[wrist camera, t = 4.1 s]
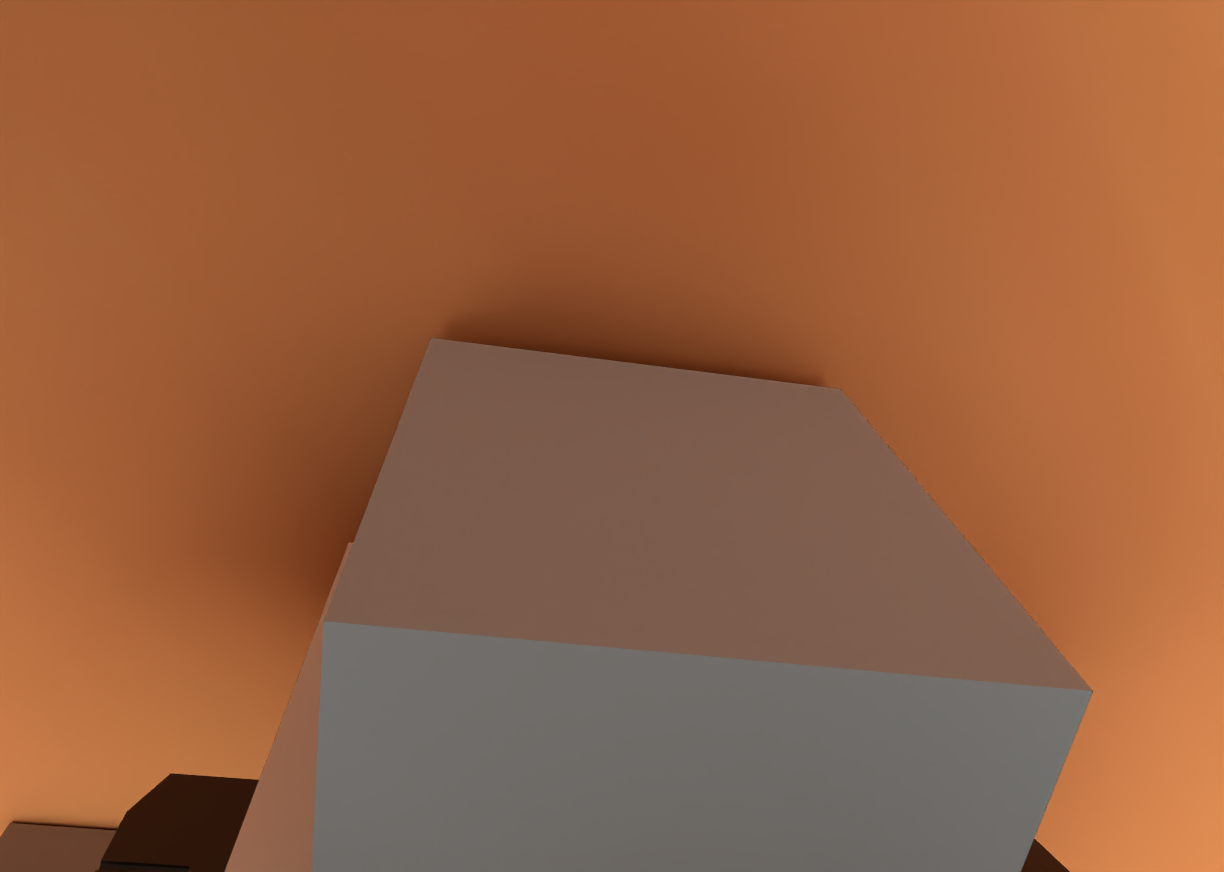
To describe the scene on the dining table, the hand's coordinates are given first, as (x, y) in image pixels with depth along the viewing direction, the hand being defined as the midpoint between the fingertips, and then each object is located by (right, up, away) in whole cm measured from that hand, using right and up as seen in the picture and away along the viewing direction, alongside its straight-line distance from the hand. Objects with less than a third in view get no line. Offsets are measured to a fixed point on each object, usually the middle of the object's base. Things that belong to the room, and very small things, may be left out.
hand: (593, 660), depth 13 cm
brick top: (0, 0, 0) cm, 0 cm away
